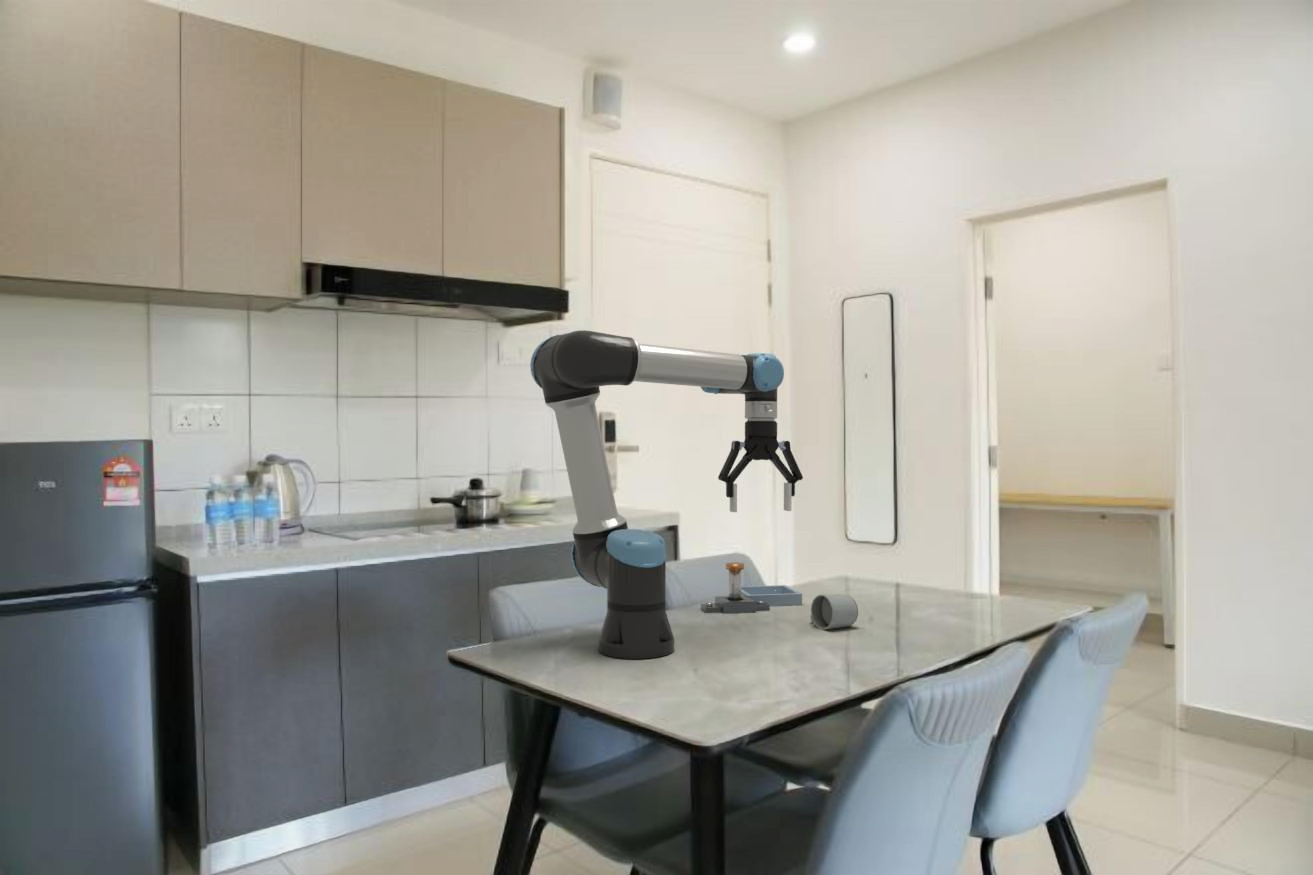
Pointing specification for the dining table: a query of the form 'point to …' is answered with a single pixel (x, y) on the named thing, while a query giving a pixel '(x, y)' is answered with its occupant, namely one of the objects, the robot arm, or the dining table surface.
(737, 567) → the pin
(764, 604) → the grey holder base
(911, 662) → the dining table surface
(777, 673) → the dining table surface
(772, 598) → the tray
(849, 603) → the ceramic mug
